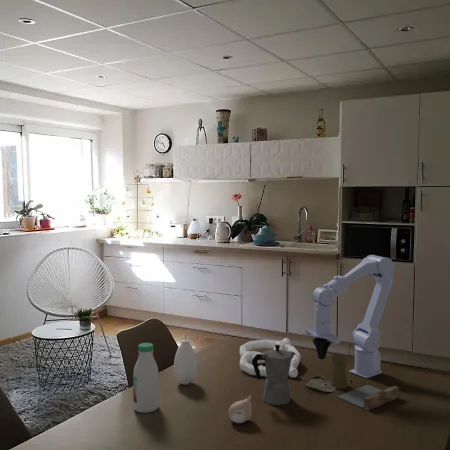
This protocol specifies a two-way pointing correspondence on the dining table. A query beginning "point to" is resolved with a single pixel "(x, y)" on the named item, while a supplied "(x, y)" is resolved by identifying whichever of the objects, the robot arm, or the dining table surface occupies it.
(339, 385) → the cork
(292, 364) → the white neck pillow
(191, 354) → the sauce bottle
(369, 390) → the mat
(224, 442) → the dining table surface
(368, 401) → the stop rail
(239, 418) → the garlic bulb
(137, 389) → the milk bottle
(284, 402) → the coffeepot
